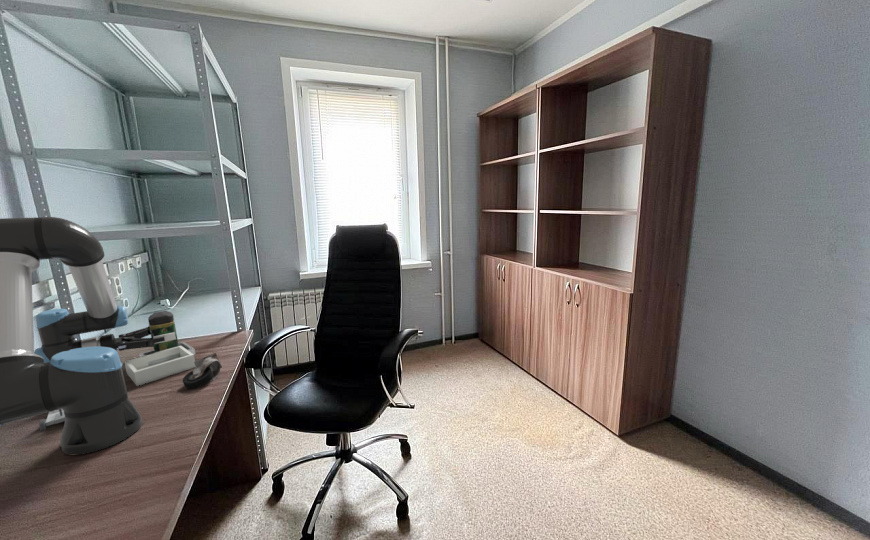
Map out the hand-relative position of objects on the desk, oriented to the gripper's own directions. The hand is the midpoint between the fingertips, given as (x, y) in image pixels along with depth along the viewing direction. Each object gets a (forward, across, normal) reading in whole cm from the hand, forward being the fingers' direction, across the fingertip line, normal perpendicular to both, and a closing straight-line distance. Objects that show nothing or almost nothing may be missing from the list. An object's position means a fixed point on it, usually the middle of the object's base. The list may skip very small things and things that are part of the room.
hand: (173, 331), depth 138 cm
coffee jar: (-3, 0, -10) cm, 11 cm away
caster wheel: (+4, +35, -10) cm, 36 cm away
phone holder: (-27, +30, -11) cm, 42 cm away
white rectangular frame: (-3, 0, -10) cm, 10 cm away
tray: (-6, +14, -10) cm, 18 cm away
